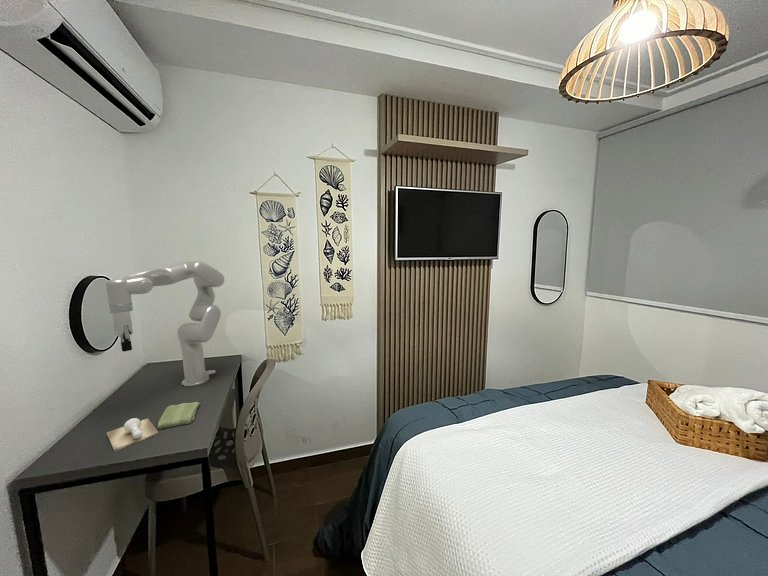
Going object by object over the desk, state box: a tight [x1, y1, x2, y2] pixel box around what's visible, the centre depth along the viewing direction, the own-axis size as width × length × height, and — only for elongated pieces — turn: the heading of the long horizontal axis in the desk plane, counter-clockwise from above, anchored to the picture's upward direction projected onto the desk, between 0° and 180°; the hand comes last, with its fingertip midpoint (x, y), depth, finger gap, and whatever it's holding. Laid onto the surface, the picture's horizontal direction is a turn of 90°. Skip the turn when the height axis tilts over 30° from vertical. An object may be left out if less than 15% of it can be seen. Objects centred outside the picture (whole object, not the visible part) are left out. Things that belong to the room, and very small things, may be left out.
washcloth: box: [157, 401, 201, 430], centre depth 132 cm, size 13×18×3 cm
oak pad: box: [106, 417, 160, 452], centre depth 120 cm, size 13×16×1 cm
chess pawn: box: [123, 417, 143, 439], centre depth 118 cm, size 5×5×9 cm
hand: (127, 350), depth 136 cm, fingers closed
